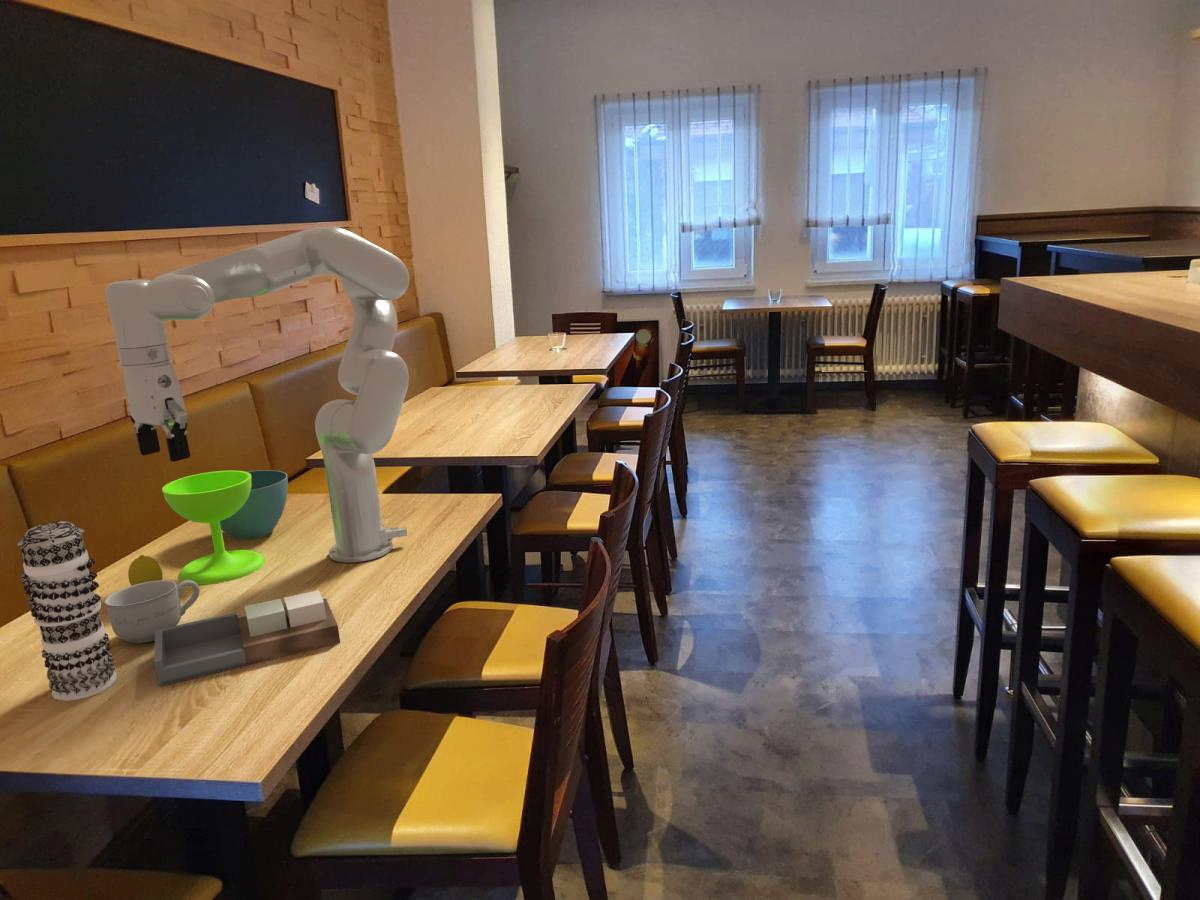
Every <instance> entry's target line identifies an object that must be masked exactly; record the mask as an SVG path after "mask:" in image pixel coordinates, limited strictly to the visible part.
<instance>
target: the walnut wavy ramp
mask: <svg viewBox="0 0 1200 900" xmlns="http://www.w3.org/2000/svg"><path fill="white" fill-rule="evenodd" d="M322 599H323V601H324V606H325V613H326V619H325V620H321V621H317V622H312V623H308V624H304V625H299V626H295V627H290V624H289V621H288V617H287V614H286V608H285V606H283V607H284V610H285V616H286V623H287V628H286V629H282V630H278V631H274V632H269V633H265V634H261V635H256V636H252V637H250V633H249V628H248V623H247V617H246V615H244V616H240V617H239V616H238V621H239V627H240V633H241V638H242V643H243V648H244V654H245V659H246V666H249V665H252V664H256V663H262V662H265V661H269V660H274V659H278V658H282V657H286V656H289V655H295V654H298V653H302V651H303V652H306V650H307V651H310V649H311V650H314V648H315V649H318V648H323V647H326V646H330V644H331V645H334V644H339V643H341V637H340V630H339V624H338V622H337V620H336V618H335V616H334V614H333V612H332V609H331V606H330V604H329V602H328V599H327V598H326V597H325V598H322Z"/></svg>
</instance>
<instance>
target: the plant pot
mask: <svg viewBox="0 0 1200 900" xmlns="http://www.w3.org/2000/svg"><path fill="white" fill-rule="evenodd" d="M247 472H248V473H250V474H251V484H252V487H251V491H250V494H249V497H248V499H247V500H246V502H245V504H244V505H243V507H242V508H241V509H240V510H238V511H237V512H236V513H235V514H234V515H232V516H231V517H229V518H226V519H224V520H222V521H220V525H221V530H222V532H223V533H225V535H228V536H229V537H230V538H232V539H234V540H237V541H249V539H250V540H255V538H256V539H259V537H260V538H262V537H265V535H266V536H268V535H269V534H271V533H272V532H273V530H274V529H275V528H276V526H277V525H278V523H279V521H280V520H281V517H282V516H283V513H284V510H285V507H286V503H287V498H288V491H289V480H288V479H289V478H288V474H287V473H286V472H283V471H280V470H272V469H271V470H269V469H266V470H260V469H259V470H249V471H247Z"/></svg>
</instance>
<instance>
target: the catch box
mask: <svg viewBox="0 0 1200 900" xmlns="http://www.w3.org/2000/svg"><path fill="white" fill-rule="evenodd" d="M238 618H239V615H238V611H237V612H231V613H226V614H223V615H218V616H213V617H210V618H205V619H201V620H195V621H192V622H191V621H190V622H186V623H183V624H182V623H181V624H177V625H176V626H172V627H168V628H163V629H158V630H155V640H154V655H153V657H154V659H153V660H154V667H155V671H156V676H157V682H158V687H159V688H160V687H163V686H167V685H172V684H175V683H180V682H184V681H188V680H191V679H196V678H199V677H200V678H201V677H204V676H209V675H212V674H213V675H214V674H216V673H217V674H218V673H220V672H225V671H229V670H232V669H237V668H240V667H241V668H242V667H246V666H247V665H246V659H245V654H244V648H243V643H242V638H241V633H240V627H239V621H238Z"/></svg>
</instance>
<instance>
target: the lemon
mask: <svg viewBox="0 0 1200 900" xmlns="http://www.w3.org/2000/svg"><path fill="white" fill-rule="evenodd" d="M127 574H128V577H127V578H128V582H129V584H130V586H133V585H136V584H141V583H145V582H151V581H161V580H163V578H164V577H163V576H164V575H163V570H162V567H161V565H160V563H159V562H158V560H157V559H155V558H153V557H152V556H148V555H144V554H140V555H139V556H138V557H137V558H135V559H134V560H133V561H132V562H131V563H130V565H129V566H128V573H127Z"/></svg>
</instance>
